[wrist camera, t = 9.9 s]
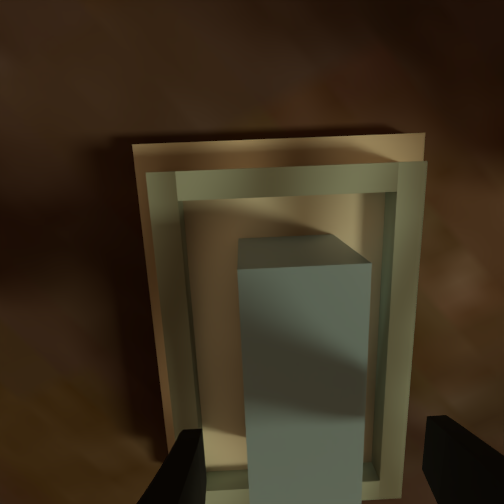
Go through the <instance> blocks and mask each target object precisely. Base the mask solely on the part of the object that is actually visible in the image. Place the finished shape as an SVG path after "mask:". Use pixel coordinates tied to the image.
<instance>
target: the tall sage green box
mask: <svg viewBox="0 0 504 504" xmlns="http://www.w3.org/2000/svg"><path fill="white" fill-rule="evenodd" d="M371 271H372V263H371V262H370V261H368V260H367V259H365V258H364V257H363V256H361V255H360V254H359V253H357V252H356V251H355V250H353V249H352V248H351V247H349V246H348V245H347V244H345V243H344V242H343V241H341V240H340V239H339V238H337V237H336V236H335V235H333V234H326V235H304V236H282V237H260V238H239V239H238V264H237V274H238V293H239V312H240V331H241V349H242V368H243V387H244V406H245V425H246V444H247V463H248V482H249V500H250V504H361V498H362V475H363V453H364V430H365V407H366V385H367V362H368V339H369V316H370V294H371Z"/></svg>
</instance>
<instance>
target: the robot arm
mask: <svg viewBox="0 0 504 504" xmlns="http://www.w3.org/2000/svg"><path fill="white" fill-rule="evenodd" d="M422 470H423V472H424V474H425V477H426V479H427V481H428V484H429V486H430V488H431V490H432V492H433V495H434V497H435V499H436V501H437V503H438V504H504V456H503V455H502V454H501V453H499V452H498V451H496V450H495V449H493V448H492V447H491V446H489V445H488V444H486V443H485V442H484V441H482V440H481V439H479V438H478V437H477V436H475V435H474V434H472V433H471V432H470V431H468V430H467V429H465V428H464V427H463V426H461V425H460V424H458V423H457V422H455V421H454V420H452V419H451V418H449V417H448V416H446V415H442V416H427V423H426V433H425V444H424V454H423V465H422ZM206 486H207V478H206V466H205V455H204V443H203V432H202V429H183V430H182V431H181V432H180V433H179V435H178V437H177V439H176V441H175V443H174V445H173V447H172V448H171V450H170V452H169V454H168V456H167V457H166V459H165V461H164V462H163V464H162V466H161V467H160V469H159V471H158V472H157V474H156V475H155V477H154V478H153V480H152V482H151V483H150V485H149V486H148V488H147V489H146V491H145V492H144V494H143V495H142V497H141V498H140V500H139V501H138V502H137V504H205V500H206Z"/></svg>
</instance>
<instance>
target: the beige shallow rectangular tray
mask: <svg viewBox="0 0 504 504" xmlns="http://www.w3.org/2000/svg"><path fill="white" fill-rule="evenodd" d="M424 144H425V133H409V134H384V135H358V136H333V137H308V138H282V139H257V140H232V141H206V142H181V143H156V144H132V148H133V156H134V165H135V173H136V182H137V190H138V199H139V207H140V216H141V225H142V233H143V242H144V250H145V259H146V267H147V276H148V284H149V293H150V301H151V310H152V318H153V327H154V335H155V344H156V352H157V361H158V369H159V378H160V386H161V395H162V403H163V412H164V421H165V429H166V438H167V446H168V454H169V452H170V450H171V448H172V447H173V445H174V443H175V441H176V439H177V437H178V435H179V433H180V432H181V431H182V430H183V429H202V432H203V443H204V455H205V466H206V478H207V486H206V500H205V504H250V500H249V482H248V463H247V444H246V425H245V406H244V387H243V368H242V349H241V331H240V312H239V293H238V274H237V264H238V239H239V238H260V237H282V236H304V235H326V234H333V235H335V236H336V237H337V238H339V239H340V240H341V241H343V242H344V243H345V244H347V245H348V246H349V247H351V248H352V249H353V250H355V251H356V252H357V253H359V254H360V255H361V256H363V257H364V258H365V259H367V260H368V261H370V262H371V263H372V271H371V294H370V316H369V339H368V362H367V385H366V407H365V430H364V453H363V475H362V498H361V500H375V499H392V498H401V491H402V479H403V466H404V453H405V441H406V428H407V416H408V403H409V390H410V378H411V365H412V352H413V340H414V327H415V315H416V302H417V289H418V277H419V264H420V251H421V239H422V226H423V214H424V201H425V188H426V176H427V163H428V161H423V157H424Z"/></svg>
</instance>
